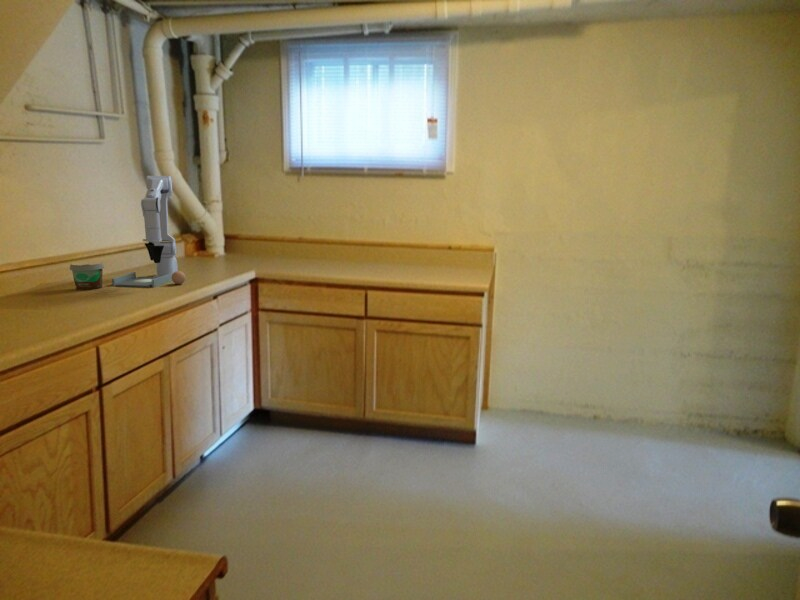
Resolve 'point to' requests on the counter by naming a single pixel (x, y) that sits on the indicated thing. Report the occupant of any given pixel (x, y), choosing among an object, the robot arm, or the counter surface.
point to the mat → (138, 282)
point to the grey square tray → (132, 275)
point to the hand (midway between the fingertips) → (155, 261)
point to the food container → (87, 276)
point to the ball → (178, 277)
